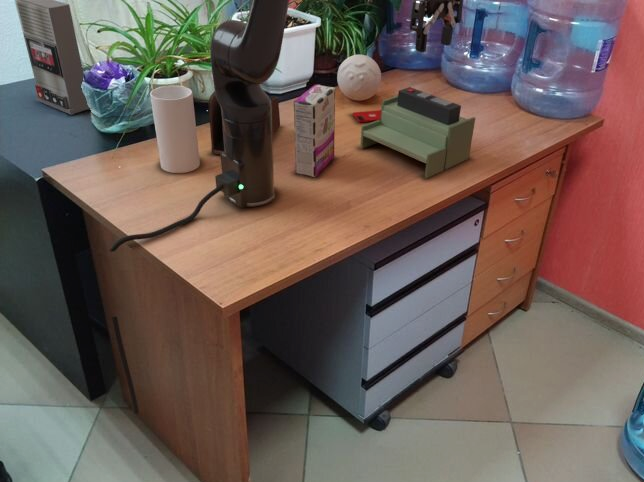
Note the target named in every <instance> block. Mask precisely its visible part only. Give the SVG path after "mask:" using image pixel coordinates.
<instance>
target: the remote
mask: <svg viewBox="0 0 644 482" xmlns="http://www.w3.org/2000/svg"><path fill="white" fill-rule="evenodd" d="M397 96H398V103H397V106H399V107H402V108H405V109H407V110H410V111H412V112H415V113H417V114H420V115H423V116H425V117H428V118H430V119H433V120H435V121H438V122H441V123H443V124H446V125H450V124H453V123H455V122H458V121H459V117H461V116H460V115H461V108H462V105H461V104H458V103H456V102H455V103H454V102H452V101H449V100H447V99H444V98H441V97H439V96H436V95H433V94H430V93H427V92H425V91H422V90H419V89H416V88H414V87H411V86H408V87H406V88H402V89H399V90H398V92H397Z"/></svg>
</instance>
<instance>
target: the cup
mask: <svg viewBox="0 0 644 482" xmlns="http://www.w3.org/2000/svg"><path fill="white" fill-rule="evenodd" d="M149 93H150V94H149V95H150V103H151V111H152V116H153V122H154V128H155V137H156V142H157V150H158V155H159V163H160V168H161V169H162V170H163V171H165V172H166V173H167V172H168V173H172V174H185V173H189V172H192V171H195V170H196V169H198V168H199V167H200V165H201V160H200V159H201V158H200V151H199V141H198V140H199V139H198V132H197V124H196V123H197V122H196V113H195V105H194V96H193V91H192V89H191V88H189V87H187V86H182V85H163V86H159V87H156V88H154V89H152V90H151V91H150V92H149Z"/></svg>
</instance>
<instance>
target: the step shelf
mask: <svg viewBox="0 0 644 482" xmlns="http://www.w3.org/2000/svg"><path fill="white" fill-rule="evenodd" d="M397 103H398V95H396V96H392V97H390V98H386V99H383V100H382V101H381V109H380V110H381V120H377V121H373V122H368V123H366V124H364V125H361V130H360V131H361V132H360V149H362V150H363V149H366V148H368V147H371V146H373V145H377V144H378V143H379V144H380V145H382V146H385V147H388V148H389V149H392V150H394V151H397V152H399V153H400V154H401V153H402V154H403V155H406V156H408V157H410V158H412V159H415V160H417V161H418V162H421V163H424V164H425V171H424V178H425V179H428V178H431V177H433V176H435V175H437V174H439V173H441V172H443V171H445V170H448V169H450V168H453V167H454V166H456V165H459V164H461V163H463V162H465V161H467V160H469V159H470V154H471V148H472V142H473V136H474V129H475V124H476V117H475V116H472V117H469V118H465V117H462V116H460V117H459V121H458V122H455V123H453V124H450V125H446V124H443V123H441V122H438V121H435V120H433V119H430V118H428V117H425V116H423V115H420V114H417V113H415V112H412V111H410V110H407V109H405V108H402V107H399V106H397Z"/></svg>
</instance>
